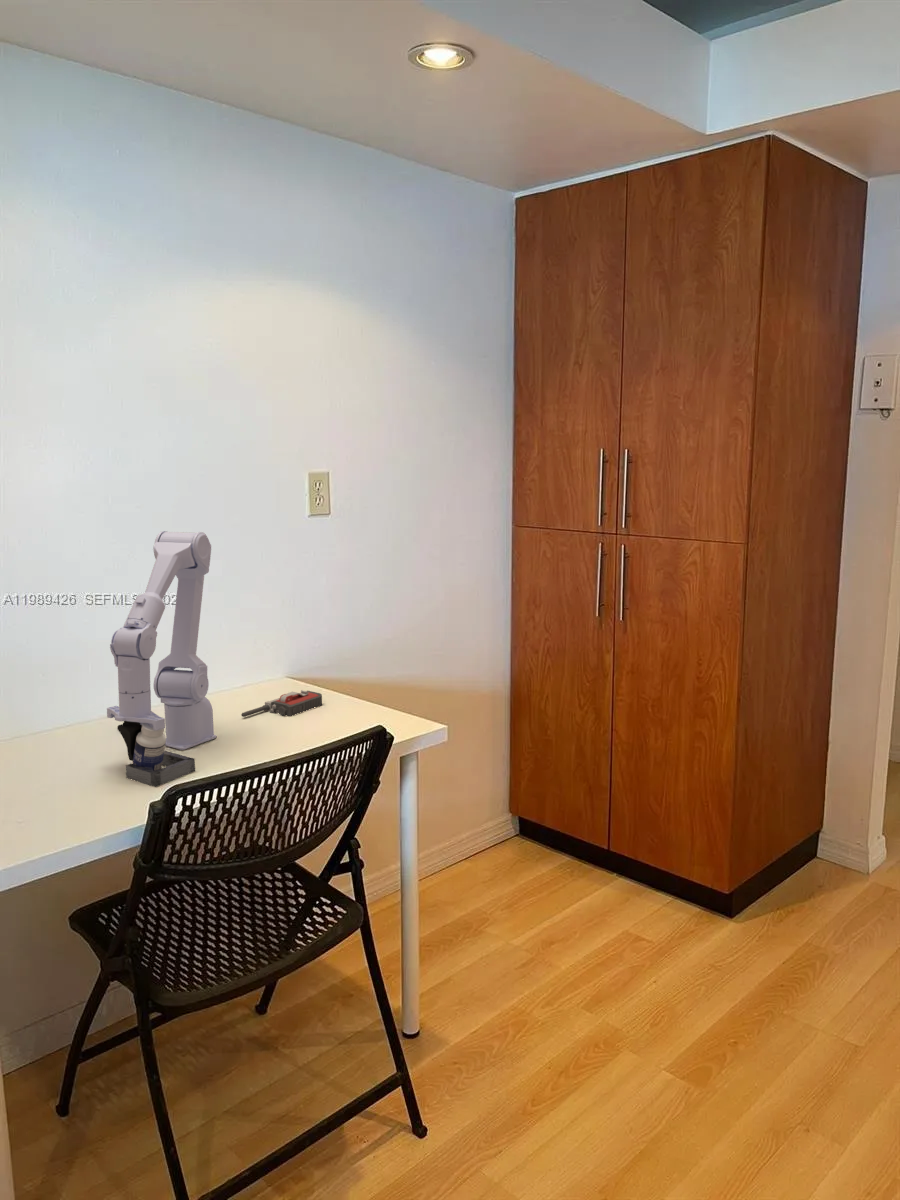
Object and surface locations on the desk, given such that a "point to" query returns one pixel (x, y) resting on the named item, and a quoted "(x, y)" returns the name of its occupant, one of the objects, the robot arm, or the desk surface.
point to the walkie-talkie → (290, 703)
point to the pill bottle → (149, 748)
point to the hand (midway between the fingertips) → (136, 759)
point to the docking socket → (162, 770)
